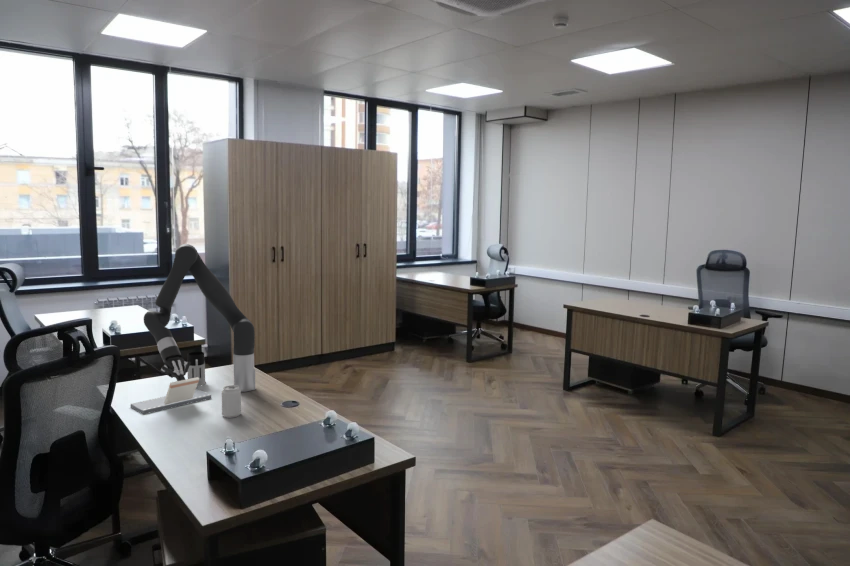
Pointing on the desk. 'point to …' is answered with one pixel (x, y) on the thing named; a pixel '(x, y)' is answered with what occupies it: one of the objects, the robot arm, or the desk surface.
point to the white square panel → (181, 390)
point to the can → (231, 401)
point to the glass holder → (197, 367)
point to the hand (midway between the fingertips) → (183, 383)
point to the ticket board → (159, 404)
